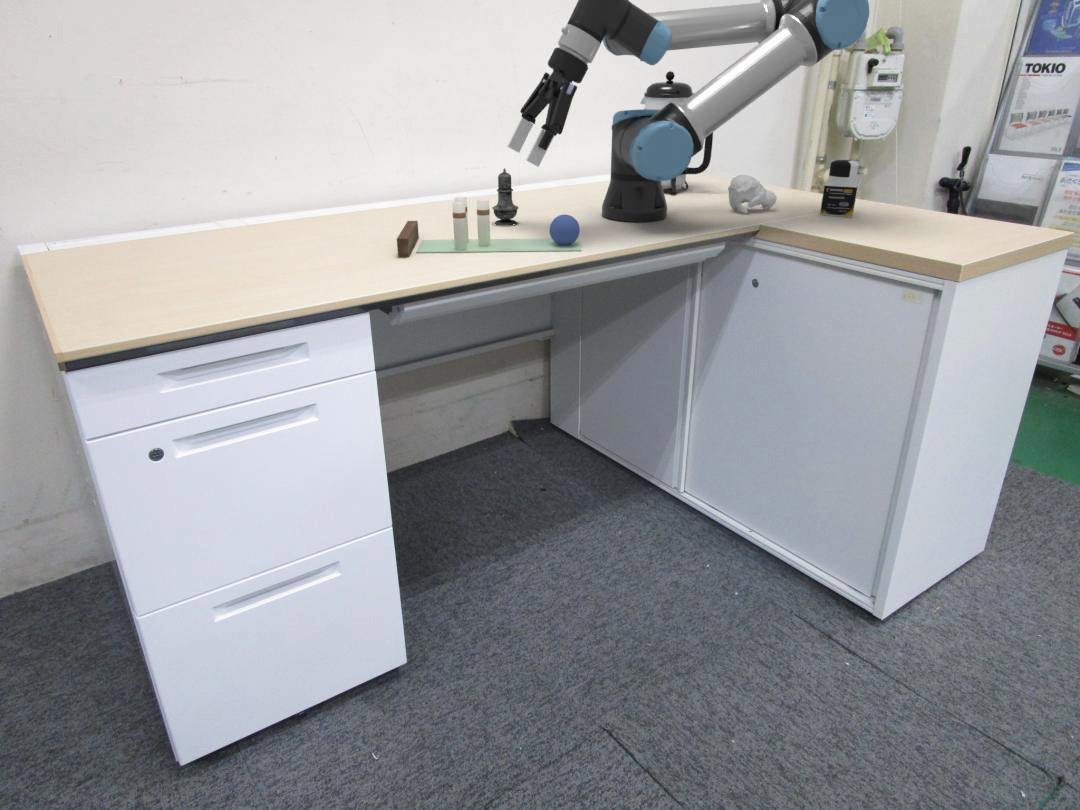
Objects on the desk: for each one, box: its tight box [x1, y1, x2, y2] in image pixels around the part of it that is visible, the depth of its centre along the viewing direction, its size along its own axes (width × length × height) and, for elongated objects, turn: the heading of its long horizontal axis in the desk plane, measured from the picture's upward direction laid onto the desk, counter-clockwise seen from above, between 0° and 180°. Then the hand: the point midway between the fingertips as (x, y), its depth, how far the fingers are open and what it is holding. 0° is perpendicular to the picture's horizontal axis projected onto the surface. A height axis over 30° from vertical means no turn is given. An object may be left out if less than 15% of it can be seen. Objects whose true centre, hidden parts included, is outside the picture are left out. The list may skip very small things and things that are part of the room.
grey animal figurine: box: [727, 174, 777, 215], centre depth 178 cm, size 6×8×12 cm
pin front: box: [476, 198, 491, 247], centre depth 147 cm, size 2×2×9 cm
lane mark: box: [415, 237, 582, 254], centre depth 149 cm, size 32×10×1 cm, turn 92°
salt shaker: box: [491, 168, 519, 226], centre depth 165 cm, size 6×6×12 cm
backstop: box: [396, 220, 420, 258], centre depth 148 cm, size 2×16×4 cm, turn 2°
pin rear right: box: [454, 196, 470, 243], centre depth 149 cm, size 2×2×9 cm
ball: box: [549, 214, 581, 245], centre depth 148 cm, size 6×6×6 cm
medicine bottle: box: [819, 159, 860, 218], centre depth 174 cm, size 7×7×12 cm
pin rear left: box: [451, 201, 467, 250], centre depth 144 cm, size 2×2×9 cm
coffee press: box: [640, 70, 714, 196], centre depth 199 cm, size 17×16×30 cm
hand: (522, 156), depth 152 cm, fingers open, 13 cm apart
